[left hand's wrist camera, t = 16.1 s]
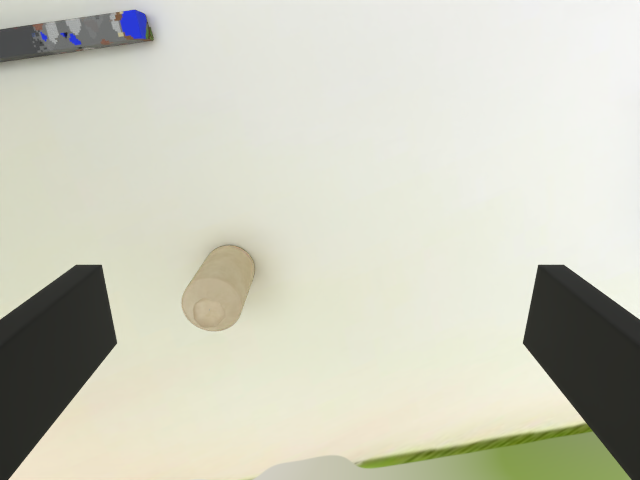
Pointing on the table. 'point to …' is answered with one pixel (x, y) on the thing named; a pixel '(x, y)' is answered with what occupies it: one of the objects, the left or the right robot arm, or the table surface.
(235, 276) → the candle
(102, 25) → the blue-tipped grey rod
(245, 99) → the table surface
